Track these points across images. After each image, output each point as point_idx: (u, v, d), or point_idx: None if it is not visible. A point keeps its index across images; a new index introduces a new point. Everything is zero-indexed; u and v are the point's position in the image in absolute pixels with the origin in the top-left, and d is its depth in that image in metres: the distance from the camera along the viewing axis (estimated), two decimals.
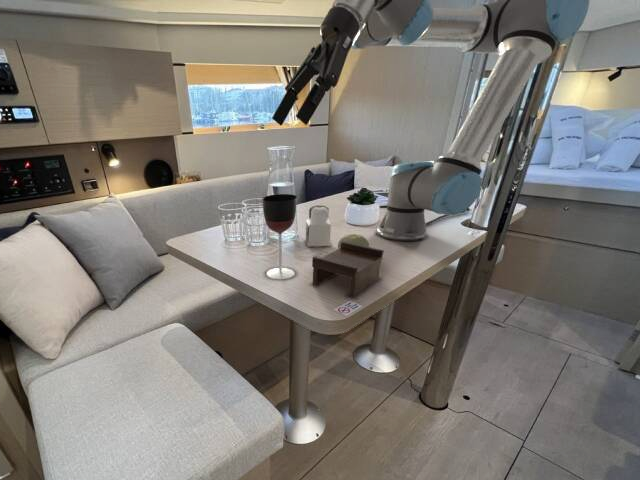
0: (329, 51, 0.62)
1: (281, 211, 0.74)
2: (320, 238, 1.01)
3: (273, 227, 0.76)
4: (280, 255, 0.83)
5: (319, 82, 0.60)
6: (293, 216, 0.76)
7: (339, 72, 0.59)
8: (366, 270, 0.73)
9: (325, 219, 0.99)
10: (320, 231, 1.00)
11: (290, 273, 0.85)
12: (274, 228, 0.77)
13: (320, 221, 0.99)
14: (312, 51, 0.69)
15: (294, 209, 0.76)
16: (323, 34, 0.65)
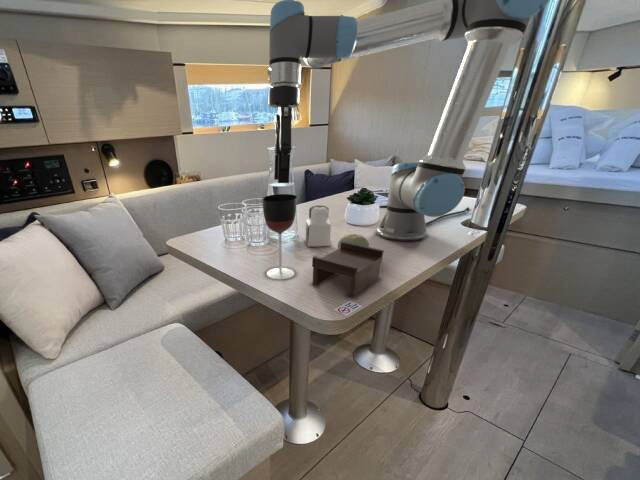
0: None
1: (280, 211, 0.74)
2: (320, 238, 1.01)
3: (273, 227, 0.76)
4: (280, 255, 0.83)
5: (280, 153, 0.75)
6: (293, 216, 0.76)
7: (289, 138, 0.73)
8: (366, 270, 0.73)
9: (325, 219, 0.99)
10: (320, 231, 1.00)
11: (290, 273, 0.85)
12: (274, 228, 0.77)
13: (320, 221, 0.99)
14: None
15: (294, 209, 0.76)
16: (274, 107, 0.79)
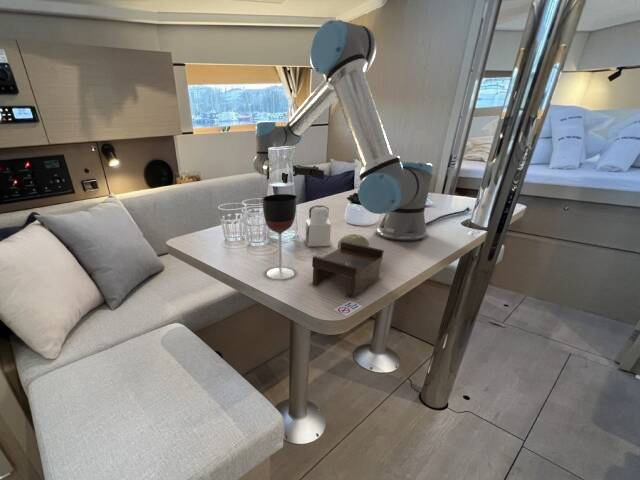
0: None
1: (280, 211, 0.74)
2: (320, 238, 1.01)
3: (273, 227, 0.76)
4: (280, 255, 0.83)
5: None
6: (293, 216, 0.76)
7: (267, 172, 1.08)
8: (366, 270, 0.73)
9: (325, 219, 0.99)
10: (320, 231, 1.00)
11: (290, 273, 0.85)
12: (274, 228, 0.77)
13: (320, 221, 0.99)
14: None
15: (294, 209, 0.76)
16: None
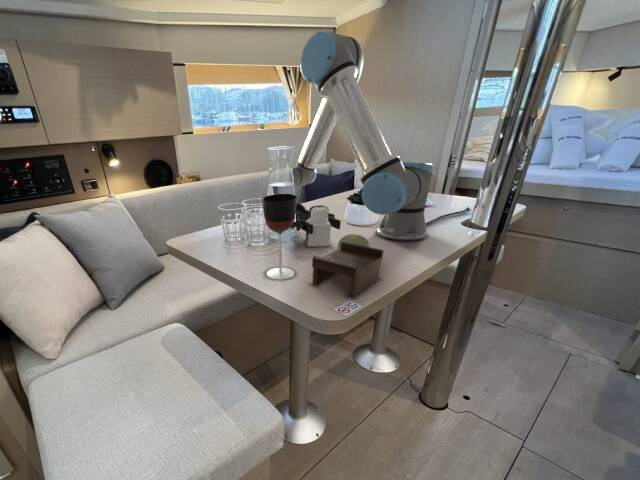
0: None
1: (280, 211, 0.74)
2: (320, 238, 1.01)
3: (273, 227, 0.76)
4: (280, 255, 0.83)
5: (298, 228, 1.03)
6: (293, 216, 0.76)
7: None
8: (366, 270, 0.73)
9: (325, 219, 0.99)
10: (320, 231, 1.00)
11: (290, 273, 0.85)
12: (274, 228, 0.77)
13: (320, 221, 0.99)
14: None
15: (294, 209, 0.76)
16: None
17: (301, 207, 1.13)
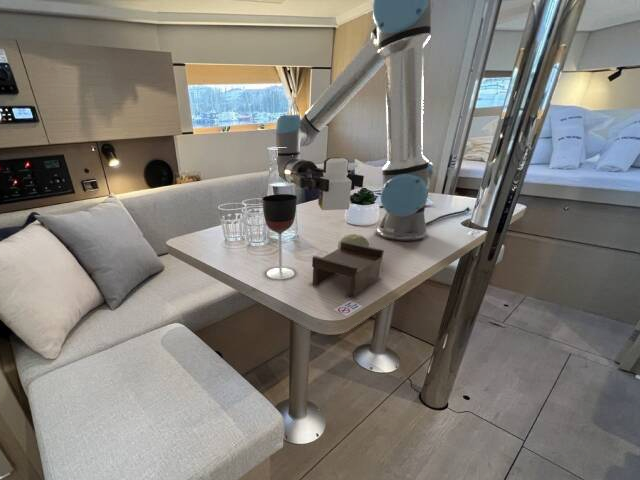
0: None
1: (280, 211, 0.74)
2: (337, 198, 0.80)
3: (273, 227, 0.76)
4: (280, 255, 0.83)
5: (309, 187, 0.82)
6: (293, 216, 0.76)
7: (298, 178, 0.83)
8: (366, 270, 0.73)
9: (344, 174, 0.78)
10: (337, 189, 0.79)
11: (290, 273, 0.85)
12: (274, 228, 0.77)
13: (338, 176, 0.78)
14: None
15: (294, 209, 0.76)
16: None
17: (312, 166, 0.92)
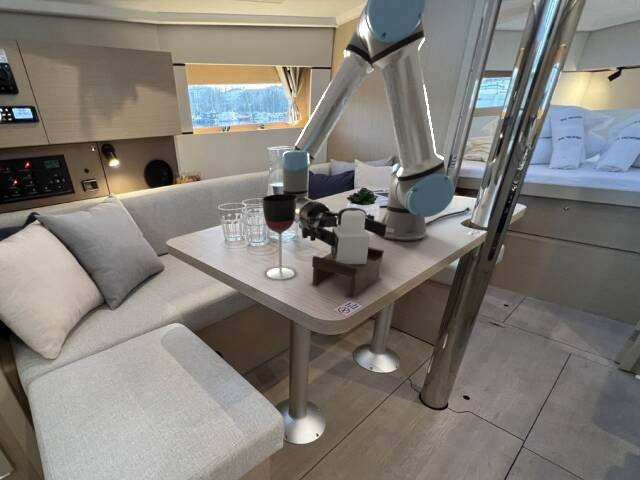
0: None
1: (280, 211, 0.74)
2: (353, 253, 0.72)
3: (273, 227, 0.76)
4: (280, 255, 0.83)
5: (312, 237, 0.74)
6: (293, 216, 0.76)
7: (302, 226, 0.76)
8: (366, 270, 0.73)
9: (361, 227, 0.70)
10: (353, 243, 0.71)
11: (290, 273, 0.85)
12: (274, 228, 0.77)
13: (354, 230, 0.70)
14: None
15: (294, 209, 0.76)
16: None
17: (324, 208, 0.84)
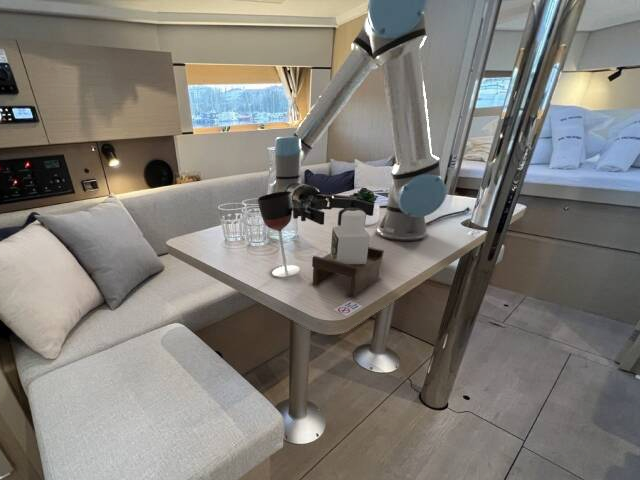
0: None
1: (276, 208, 0.74)
2: (353, 253, 0.72)
3: (271, 225, 0.77)
4: (283, 252, 0.83)
5: (303, 217, 0.77)
6: (290, 211, 0.77)
7: (293, 207, 0.78)
8: (366, 270, 0.73)
9: (361, 227, 0.70)
10: (353, 243, 0.71)
11: (295, 269, 0.85)
12: (272, 226, 0.77)
13: (354, 230, 0.70)
14: None
15: (290, 204, 0.76)
16: None
17: (315, 191, 0.86)
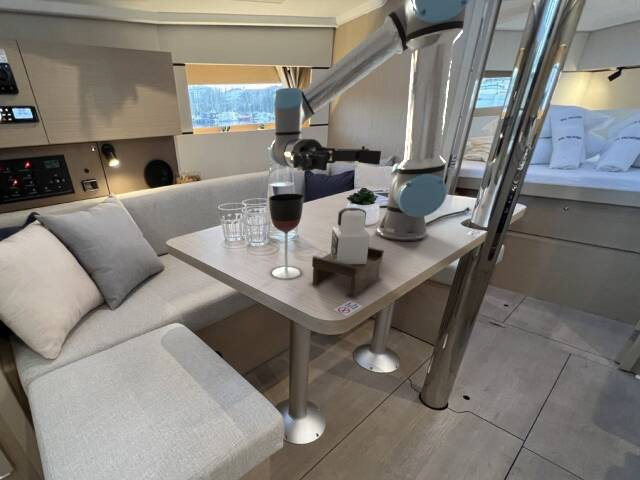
0: None
1: (287, 210, 0.74)
2: (353, 253, 0.72)
3: (280, 226, 0.77)
4: (286, 254, 0.83)
5: (304, 166, 0.71)
6: (299, 215, 0.76)
7: None
8: (366, 270, 0.73)
9: (361, 227, 0.70)
10: (353, 243, 0.71)
11: (296, 272, 0.85)
12: (280, 227, 0.77)
13: (354, 230, 0.70)
14: None
15: (301, 208, 0.76)
16: None
17: (317, 145, 0.81)
